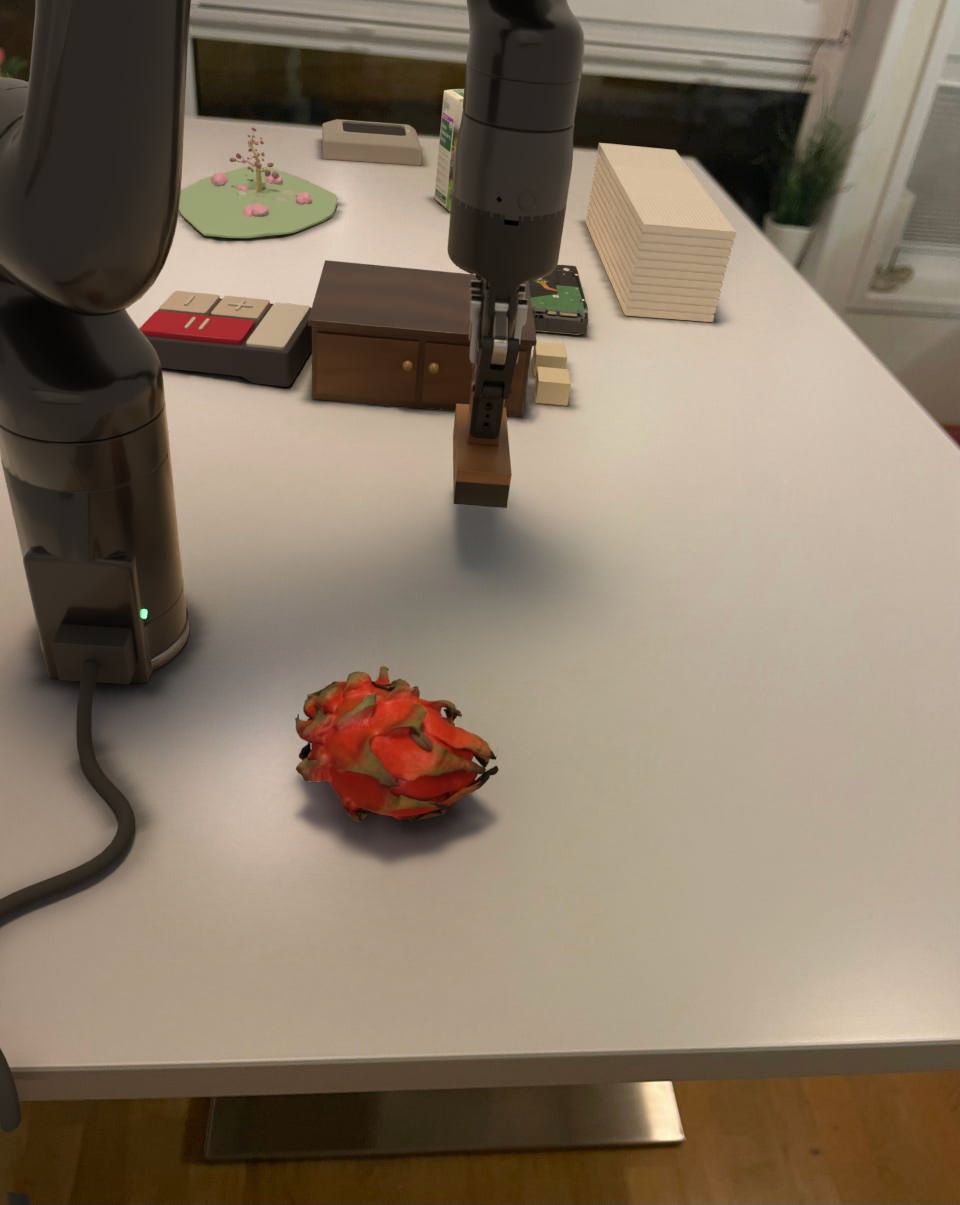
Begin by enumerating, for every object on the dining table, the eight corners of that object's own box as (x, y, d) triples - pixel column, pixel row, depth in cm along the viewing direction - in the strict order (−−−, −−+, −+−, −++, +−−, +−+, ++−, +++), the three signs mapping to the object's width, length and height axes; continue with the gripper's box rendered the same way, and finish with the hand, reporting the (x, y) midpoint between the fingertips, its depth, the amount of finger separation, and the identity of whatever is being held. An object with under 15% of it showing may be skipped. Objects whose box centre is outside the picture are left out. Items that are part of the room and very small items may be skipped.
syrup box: (432, 199, 145) (440, 88, 136) (470, 197, 147) (480, 88, 138) (448, 212, 141) (458, 99, 132) (486, 211, 143) (498, 99, 134)
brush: (506, 508, 75) (522, 400, 70) (453, 504, 75) (464, 395, 69) (501, 439, 83) (515, 337, 78) (452, 435, 83) (462, 332, 77)
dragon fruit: (286, 771, 62) (471, 836, 62) (250, 805, 54) (464, 881, 53) (330, 640, 62) (517, 705, 61) (301, 654, 53) (517, 729, 53)
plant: (331, 249, 126) (332, 173, 120) (160, 235, 123) (153, 157, 118) (339, 186, 145) (341, 118, 140) (192, 173, 143) (187, 104, 137)
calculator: (171, 285, 103) (316, 300, 102) (177, 326, 106) (318, 340, 105) (129, 329, 95) (287, 345, 94) (137, 371, 97) (290, 387, 97)
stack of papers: (712, 322, 120) (736, 231, 114) (624, 315, 119) (643, 223, 112) (658, 229, 145) (675, 149, 138) (585, 222, 144) (598, 142, 137)
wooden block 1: (536, 354, 103) (533, 376, 104) (567, 357, 103) (563, 378, 105) (534, 340, 105) (531, 362, 107) (565, 343, 106) (561, 364, 107)
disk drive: (489, 280, 124) (495, 329, 112) (491, 257, 122) (498, 305, 110) (572, 287, 125) (588, 337, 113) (576, 264, 123) (592, 313, 111)
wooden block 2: (538, 380, 98) (535, 403, 100) (571, 383, 98) (567, 406, 100) (536, 366, 101) (533, 388, 102) (568, 369, 101) (565, 390, 102)
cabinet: (525, 422, 96) (537, 343, 91) (307, 403, 95) (307, 322, 90) (518, 352, 108) (528, 279, 103) (324, 334, 107) (325, 259, 102)
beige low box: (322, 115, 160) (417, 123, 162) (322, 140, 162) (415, 147, 164) (323, 132, 152) (422, 140, 155) (323, 158, 155) (421, 165, 157)
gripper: (452, 154, 71) (435, 379, 82) (452, 223, 60) (432, 471, 71) (558, 164, 71) (527, 386, 82) (577, 234, 61) (538, 479, 72)
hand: (483, 425), depth 77 cm, fingers closed on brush, 2 cm apart
